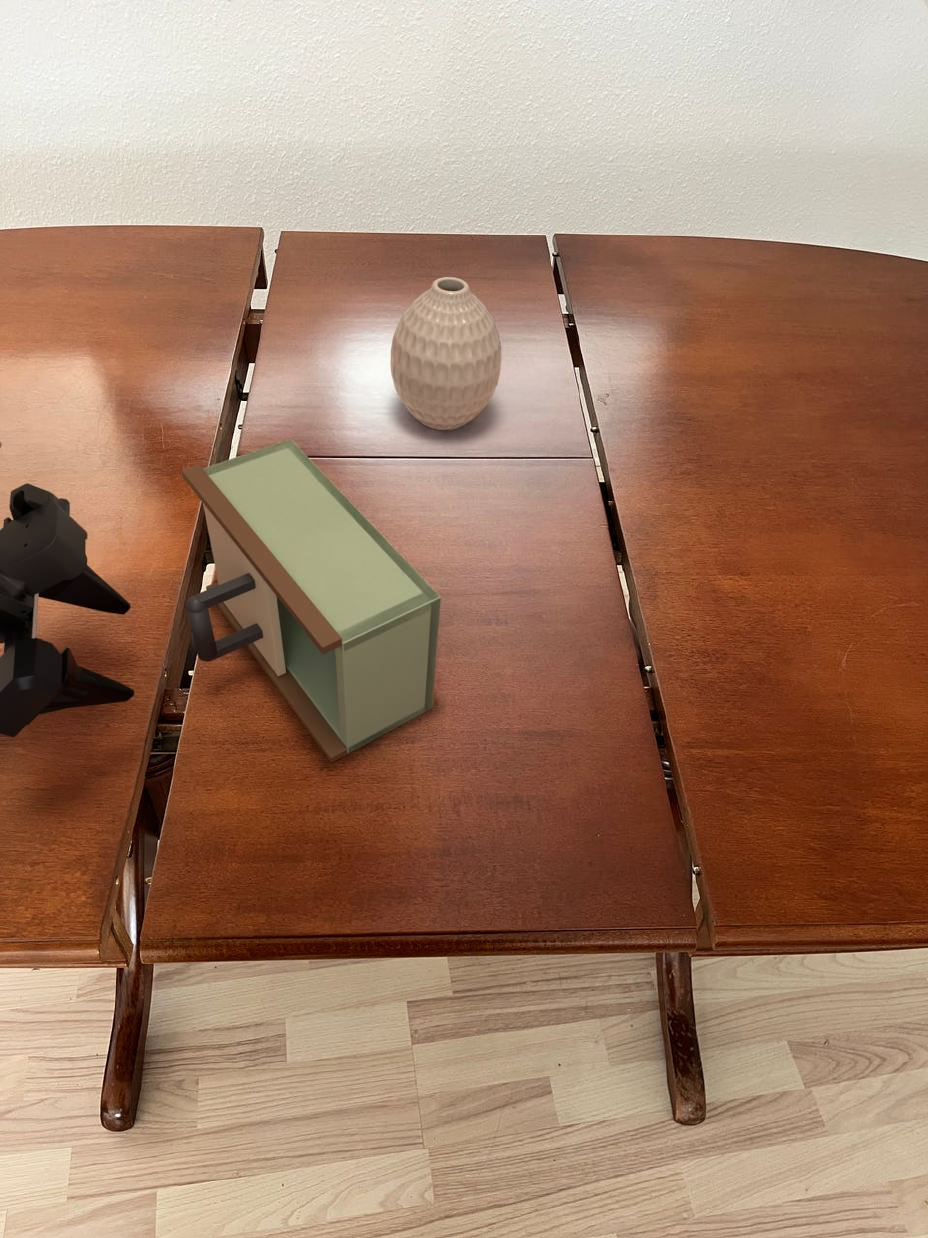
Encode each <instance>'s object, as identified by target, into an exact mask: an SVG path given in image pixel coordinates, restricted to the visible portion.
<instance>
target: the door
mask: <svg viewBox="0 0 928 1238" xmlns="http://www.w3.org/2000/svg"><path fill="white" fill-rule="evenodd" d="M202 505H203V510H204V516H205V520H206V521H205V522H206V526H207V531H208V537H209V542H210V547H211V552H212V558H213V561H214V568H215V572H216V577H217V582H218V583H219V585H218V586H216V587H213V588H211V589H208V590H203V591H201V592H198V593H196V594H195V595H192V596H190V597H189V598H188V599H187V600H186V603H185V609H186V614H187V617H188V621H189V626H190V630H191V634H192V639H193V642H194V646H195V650H196V651H195V652H196V655H197V658H199V660H200V661H202V662H204V663H205V662H206V663H210V662H212V661H215V660H217V659H219V658H222V657H223V656H226V655H228V654H230V653H233V652H235V651H237V650H239V649H242V648H244V647H246V645H248V644H251V643H254V644H255V646H256V647H257V648H258V650H259V651H260V652H261V654H262V655H263V656H264V658H265V659H266V661H267V662H268V663H269V665H270V666H271V667H272V669H273V670H274V671H275V673H276V674H277V676H280V675H282V674H284V673H286V668H285V660H284V652H283V644H282V636H281V628H280V620H279V612H278V604H277V597H276V595H275V593H274V592H273V591H272V590H271V588H270V587H269V586H268V585H267V583H266V582H265V581H264V579H263V578H262V577H261V576H260V574H259V573H258V572H257V571H256V569H255V568H254V567H253V566H252V564H251V563H250V562H249V560H248V559H247V558H246V557H245V555H244V554H243V553H242V552H241V550H240V549H239V548H238V547H237V545H236V544H235V543H234V541H233V540H232V539H231V538H230V536H229V535H228V534H227V533H226V531H225V530H224V529H223V528H222V526H221V525H220V524H219V522H218V521H217V520H216V519H215V517H214V516H213V515H212V514H211V512H210V511H209V510H208V509H207V507H206V506H205V505H204V504H203V503H202ZM222 602H224V603H225V605H226V606H227V607H228V609H229V610H230V611H231V613H232V614H233V616H234V617H235V618H236V620H237V621H238V622H239V624H240V625H241V626H242V628H243V629H242V630H240V631H238V632H236V631H235V632H233V633H231V634H229V635H226V636H224V637H222V638H219V639H217V640H216V638H215V633H214V629H213V625H212V620H211V616H210V611H209V609H210V608H212V607H215V606H217V604H220V603H222Z"/></svg>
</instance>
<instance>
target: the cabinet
mask: <svg viewBox="0 0 928 1238" xmlns="http://www.w3.org/2000/svg"><path fill="white" fill-rule="evenodd" d="M180 471H181V477H182V479H183V480H184V481H185V482H186V483H187V485H188V486H189V488H190V489H191V490H192V491H193V492H194V494H195V495H196V496H197V497H198V499H199V500H200V501H201V502H202V505H203V504H204V505H205V506H206V507H207V509H208V510H209V511H210V512H211V514H212V515H213V516H214V517H215V519H216V520H217V521H218V522H219V524H220V525H221V526H222V528H223V529H224V530H225V531H226V533H227V534H228V535H229V536H230V538H231V539H232V540H233V541H234V543H235V544H236V545H237V547H238V548H239V549H240V550H241V552H242V553H243V554H244V555H245V557H246V558H247V559H248V560H249V562H250V563H251V564H252V566H253V567H254V568H255V569H256V571H257V572H258V573H259V574H260V576H261V577H262V578H263V579H264V581H265V582H266V583H267V585H268V586H269V587H270V588H271V590H272V591H273V592H274V593H275V595H276V597H277V604H278V612H279V620H280V628H281V636H282V644H283V652H284V660H285V668H286V673H284V674H282V675H280V676H277V674H276V673H275V671H274V670H273V669H272V667H271V666H270V665H269V663H268V662H267V661H266V659H265V658H264V656H263V655H262V654H261V652H260V651H259V650H258V648H257V647H256V646H255V644H254V643H251V644H248V645H246V646H245V647H246V648H247V650H248V651H249V652H250V654H251V655H252V656H253V658H254V659H255V660H256V662H257V664H258V665H259V666H260V667H261V669H262V670H263V672H264V674H266V676H267V677H268V678H269V681H271V682H272V684H273V686H274V687H275V688H276V690H277V691H278V692H279V694H280V695H281V696H282V698H283V699H284V701H285V702H286V703H287V705H288V706H289V708H290V709H291V711H292V712H293V713H294V714H295V716H296V717H297V718H298V720H299V721H300V723H301V724H302V726H303V727H304V729H306V731H307V732H308V734H309V735H310V736H311V738H312V739H313V741H314V742H315V744H316V746H318V748H319V749H320V750H321V752H322V754H323V755H324V756H325V758H327V760H328V761H329V763H331V764H332V763H334V762H335V761H338V760H339V759H341V758H343V757H345V756H347V755H349V754H351V753H352V752H354V751H356V750H358V749H360V748H362V747H363V746H365V745H367V744H369V743H371V742H373V741H375V740H376V739H378V738H380V737H381V736H383V735H386V734H388V733H389V732H391V731H393V730H395V729H397V728H398V727H400V726H402V725H404V724H405V723H407V722H410V721H411V720H413V719H415V718H417V717H418V716H421V715H423V714H424V713H427V712H428V711H430V710H432V709H433V705H434V695H435V694H434V693H435V682H436V680H435V679H436V670H437V669H436V668H437V653H438V642H439V627H440V616H441V605H442V604H441V603H442V602H441V601H442V596H441V595H440V594H439V593H438V592H437V591H436V590H435V589H434V588H433V587H432V586H431V584H430V583H428V581H427V580H426V579H425V578H424V577H423V576H422V575H421V574H420V573H419V572H418V571H417V570H416V569H415V568H414V567H413V566H412V565H411V564H410V562H409V561H407V559H406V558H404V556H403V555H402V554H401V553H400V552H399V551H398V550H397V549H396V548H395V547H394V546H393V545H392V544H391V542H389V541H388V539H387V538H386V537H385V536H384V535H383V534H382V533H381V532H380V531H379V530H378V529H377V528H376V527H375V526H374V524H372V523H371V522H370V520H369V519H367V517H366V516H364V514H363V513H362V512H361V511H360V510H359V509H358V508H357V507H356V506H355V505H354V504H353V503H352V502H351V500H350V499H349V498H347V496H346V495H345V494H344V493H343V492H342V491H341V490H340V489H339V488H338V487H337V486H336V485H335V484H334V483H333V482H332V481H331V479H329V477H328V476H327V475H325V473H324V472H323V471H322V470H321V469H320V468H319V466H317V465H316V464H315V462H313V461H312V459H311V458H310V457H309V456H307V454H306V453H305V452H304V451H303V450H302V449H301V448H300V447H299V446H298V444H296V442H295V441H293V440H292V438H288V439H286V440H282V441H280V442H277V443H273V444H271V445H269V446H265V447H262V448H260V449H259V448H258V449H256V450H253V451H251V452H250V451H249V452H248V453H245V454H242V455H239V456H236V457H233V458H229V459H227V460H224V461H221V462H218V463H215V464H212V465H209V466H207V467H202V466H201V464H199V463H197V464H195V465H191V466H188V467H186V468H182V469H181V470H180ZM218 585H219V583H218V581H215V582H213V583H211V584H209V585H205V589H206V590H208V589H211V588H213V587H216V586H218ZM206 590H205V591H206ZM216 607H217V608H218V609H219V611H220V612H221V613H222V615H223V617H224V618H225V619H226V621H227V622H228V623H229V625H230V626H231V627H232V629H233V630H234V631H235V632H238V631H240V630H242V629H243V628H242V626H241V625H240V624H239V622H238V621H237V620H236V618H235V617H234V616H233V614H232V613H231V611H230V610H229V609H228V607H227V606H226V605H225V603H224V602H222V603H220V604H217V605H216Z"/></svg>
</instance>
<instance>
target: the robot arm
mask: <svg viewBox="0 0 928 1238" xmlns="http://www.w3.org/2000/svg"><path fill="white" fill-rule="evenodd" d="M1 448H2V442H1V441H0V449H1ZM9 495H10V497H9V511H10V514H11V518H10V517H9V516H7V517H5V518H4V519H3V525H2V528H1V529H0V645H2V644H4V645H3V654H1V656H0V735H3V736H7V737H9V738H13V739H14V738H15V737H17V736H18V735H19V734H20V732H22V731H23V730H24V729H25V727H27V726H29V725H30V724H31V723H32V722H33V721H34V720H35V719H36V718H37V717H38V716H40V715H44V714H48V713H54V712H58V711H63V710H68V709H76V708H83V707H84V708H85V707H92V706H100V705H101V706H102V705H110V704H117V703H126V702H128V701H129V700H131V699H132V698H133V697H134V696H135V690H134V689H133V688H131V687H129V686H127V685H126V684H124V683H122V682H120V681H117V680H115V679H112V678H110V677H109V676H108V677H107V676H106V675H103V674H101V673H97V672H96V671H93V670H90V669H89V668H85V667H83V666H81V665H79V664H78V663H77V662H76V659H75V657H74V655H73V652H72V650H71V648H70V647H69V646H67V647H65V649H64V650H62V652H60V651H59V650H58V648H57V647H56V646H55V645H54V644H53V642H49V641H47V640H44V639H41V638H39V637H37V633H38V632H37V631H38V629H37V628H38V615H39V614H38V613H39V612H38V611H39V598H41V599H45V600H51V601H55V602H58V603H64V604H67V605H71V606H76V607H81V608H85V609H88V610H89V609H90V610H94V611H98V612H102V613H109V614H115V615H126V614H127V613H128V612H129V611H130V610H131V607H132V606H131V605H132V604H131V603H130V602H129V601H128V600H126V599H125V597H123V596H122V595H121V594H120V593H119V592H118V591H117V590H115V589H114V588H113V587H112V586H111V584H109V583H108V582H107V581H106V580H104V579H103V578H102V576H100V575H99V574H98V573H97V572H96V571H95V570H93V569H92V567H90V566H89V564H88V555H87V553H86V548H87V547H86V545H87V543H86V540H88V532H87V530H85V528H83V526H82V525H80V524H79V522H77V521H76V520H75V519H74V518H73V517H71V514H70V511H71V503H70V501H69V500H68V499H67V498H64V497H61V498H58V497H57V496H56V494H54V493H53V492H51V491H49V490H46V489H44V488H41V487H38V486H35V485H33V484H31V483H24V484H22V485H19V486H18V487H16V488H14V489H13V490H11V491H10V493H9Z"/></svg>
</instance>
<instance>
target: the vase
mask: <svg viewBox="0 0 928 1238" xmlns="http://www.w3.org/2000/svg"><path fill="white" fill-rule="evenodd" d="M502 358H503V357H502V343H501V339H500V334H499V331H498V328H497V326H496V323H495V321H494V319H493V317H492V314H491V313H490V312H489V310H488V309H487V307H486V306H485V304H484V303H483V302H482V301H481V299H480V298H478V297H477V296H476V295H475V294H474V293H473V292H472V291H471V289H470V286H469V284H468V283H467V282H466V281H465V280H463V279H461V278H458V277H454V276H443V277H440V278H437V279H435V280H434V281H433V282H432V283H431V286H430V288H429V289H427V290H426V291H424V292H423V293H422V294H420V295H419V296H418V297H417V298H416V299H414V300H413V301H412V302H411V303H410V305H409V306H408V307H407V308H406V310H405V311H404V313H403V314H402V316H401V317H400V319H399V321H398V323H397V325H396V327H395V330H394V334H393V337H392V341H391V347H390V373H391V378H392V382H393V386H394V388H395V389H394V390H395V391H396V393H397V395H398V397H399V399H400V401H401V402H402V404H403V406H404V407H405V408H406V410H407V411H408V412H409V413H410V415H412V416H413V417H414V418H415V419H416V420H417V421H418V422H419V423H421V424H422V425H423V426H426V427H427V428H430V429H432V430H437V431H453V430H457V429H459V428H461V427H463V426H465V425H467V424H468V423H470V422H471V421H472V420H474V419H475V418H476V417H477V416H478V415H479V414H480V413H481V412H482V411H483V410H484V409H485V408H486V406H487V405H488V404H489V402H490V400H491V399H492V398H493V396H494V393H495V391H496V389H497V387H498V383H499V380H500V376H501V369H502Z"/></svg>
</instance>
